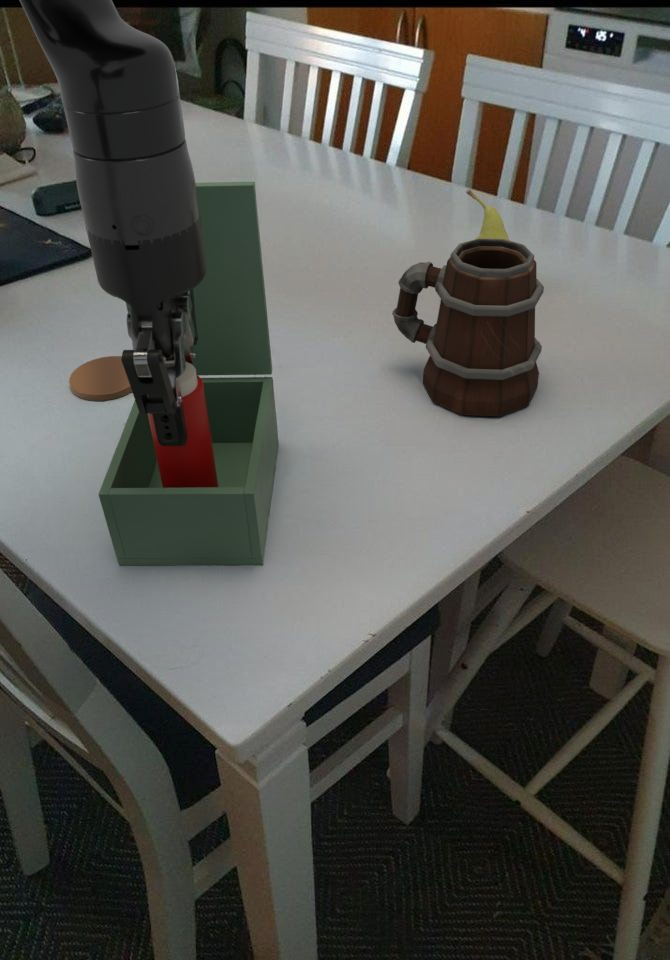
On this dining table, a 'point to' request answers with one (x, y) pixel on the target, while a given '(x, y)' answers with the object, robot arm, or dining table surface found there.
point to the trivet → (100, 379)
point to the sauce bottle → (188, 440)
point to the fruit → (490, 221)
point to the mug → (477, 326)
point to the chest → (201, 510)
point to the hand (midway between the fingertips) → (179, 423)
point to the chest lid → (231, 284)
